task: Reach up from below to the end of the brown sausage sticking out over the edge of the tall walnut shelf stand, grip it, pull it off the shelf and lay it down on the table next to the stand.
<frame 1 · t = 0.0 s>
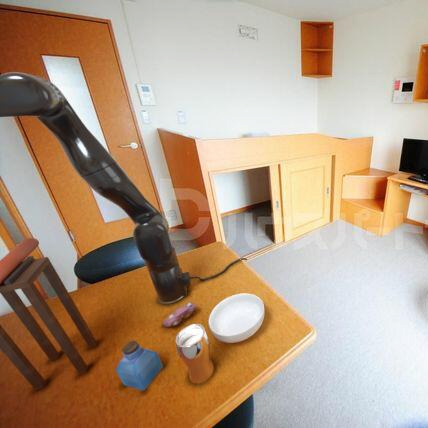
video game controller: (182, 319, 81), on the table
cereal bowl: (240, 327, 79), on the table
shelf stand: (69, 364, 67), on the table
silver metal tumbler: (202, 372, 66), on the table
perfume bottle: (144, 376, 64), on the table
sausage: (13, 268, 55), point 32 cm above the table, touching shelf stand
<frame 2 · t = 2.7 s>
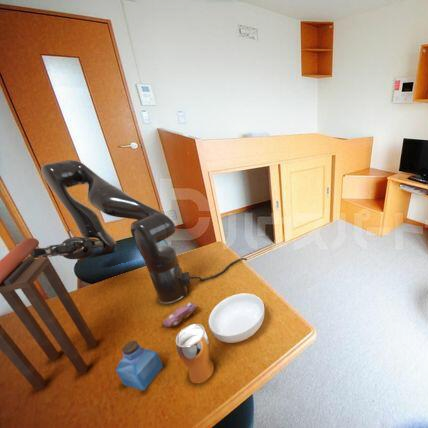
hand: (53, 248, 70), 28 cm above the table, tool pointing upward, fingers open, 8 cm apart
nothing on the table moved.
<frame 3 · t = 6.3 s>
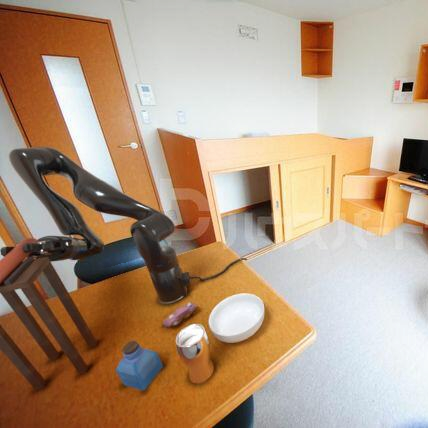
hand: (15, 249, 57), 35 cm above the table, tool pointing upward, fingers closed on sausage, 3 cm apart
sausage: (13, 268, 55), point 32 cm above the table, touching gripper, shelf stand
everything else where it was.
when the fingers open (7 cm above the table, at t = 17.1 s): sausage drops 4 cm, on the table.
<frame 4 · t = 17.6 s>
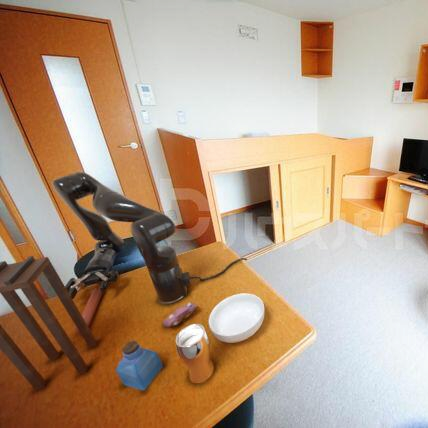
hand: (86, 293, 82), 7 cm above the table, tool horizontal, fingers open, 8 cm apart
sausage: (92, 310, 84), on the table
everything else where it was.
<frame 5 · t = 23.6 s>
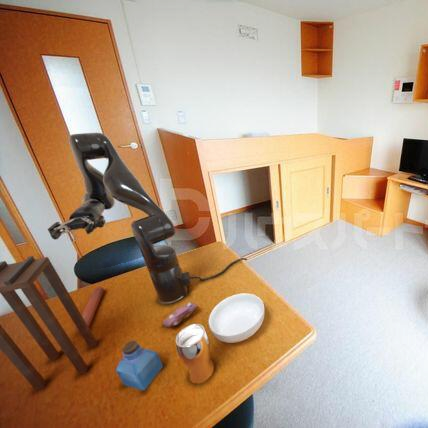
hand: (71, 234, 80), 26 cm above the table, tool horizontal, fingers open, 8 cm apart
nothing on the table moved.
at the end: sausage on the table; sausage inside the target area (0.2 cm from its centre), on the table; the gripper is holding nothing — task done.
